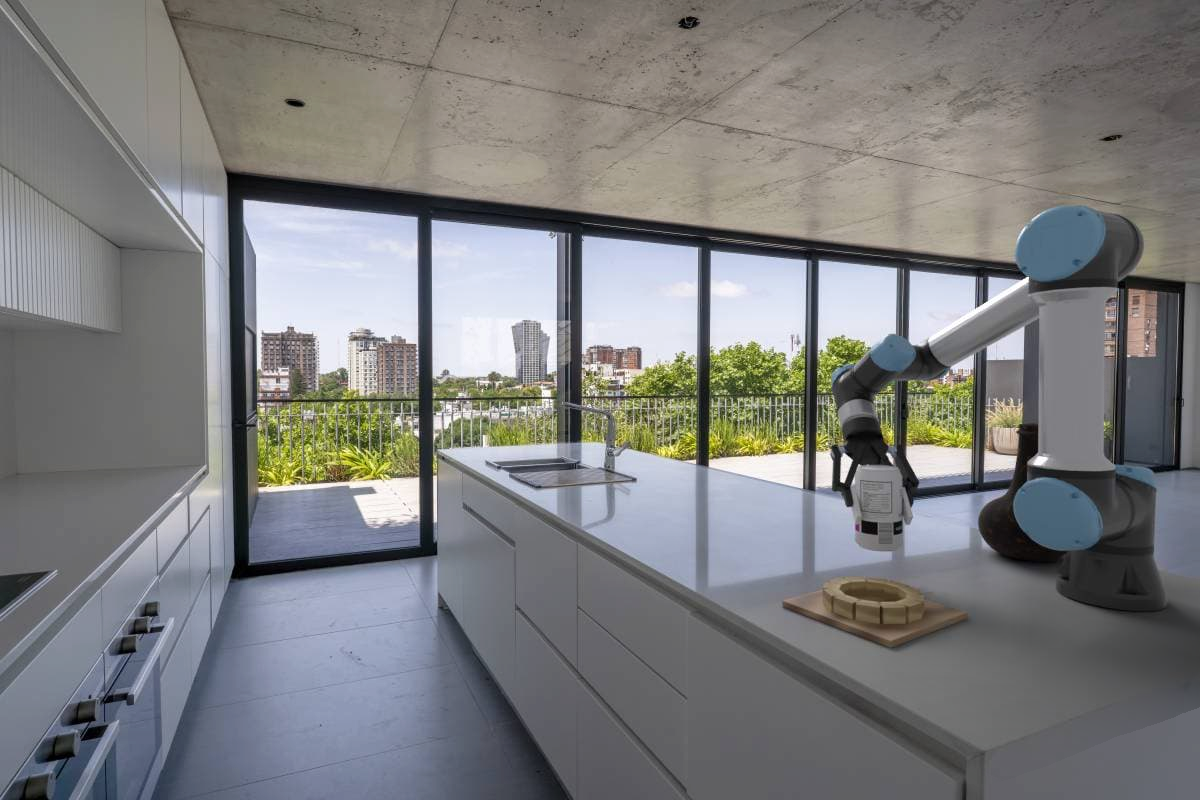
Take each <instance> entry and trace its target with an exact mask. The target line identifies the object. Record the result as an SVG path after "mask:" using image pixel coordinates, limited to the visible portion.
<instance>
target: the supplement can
mask: <svg viewBox="0 0 1200 800" xmlns="http://www.w3.org/2000/svg"><path fill="white" fill-rule="evenodd" d="M854 487H855V488H856V493H857V497H858V502H859V506H860V511H861V515H862V517H861V520H860V523H859V524H855V523H854V537H855V539H854V542H855V543H856V544H857V545H858V546H859V547H860V548H861V549H863V550H868V551H872V552H873V551H874V552H894V551H895V552H896V551H897V550H900V548H902V546H903V545H904V543H903V542H904V537H903V536H904V535H903V527H904V526H903V522H904V521H903V520H904V518H903V499H902V474H901V472H900V470H899V468H898V467H897V466H886V465H863V466H860V465H858V468H857V471H856V473H855V476H854Z"/></svg>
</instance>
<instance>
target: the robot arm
mask: <svg viewBox="0 0 1200 800" xmlns="http://www.w3.org/2000/svg"><path fill="white" fill-rule="evenodd" d="M1144 240H1145V239H1144V236H1143V234H1142V231H1141V230H1140V229H1139V226H1137V225H1136V223H1135V222H1134V221H1132V220H1131V219H1129V218H1127V217H1125V216H1124V215H1121V214H1116V213H1112V212H1107V211H1106V212H1105V211H1101V210H1096V209H1094V208H1091V207H1089V206H1086V205H1060V206H1059V205H1058V206H1054V207H1052V208H1049V209H1047V210H1044V211H1042V212H1041V213H1039V214H1038V215H1036V216H1035V217H1033V218H1032V219H1031V220H1030V221H1029V222H1028V224H1027V225H1025V226H1024V227H1023V228H1022V230H1021V232H1020V233H1019V235H1018V238H1017V239H1016V243H1015V248H1014V259H1015V262H1016V265H1017V267H1018V269H1019V271H1021V272H1022V273H1023V275H1025V276H1026V277H1025V278H1024V279H1022V280H1020V281H1019V282H1017V283H1015V284H1014V285H1013V286H1011V287H1009V288H1008V289H1006V290H1004V291H1002V292H1001V293H999V294H998V295H996V296H995V297H992V298H991V299H989V300H988V301H986V302H985V303H983V304H981V305H979V306H978V307H976V308H974V309H973V310H971V311H970V312H968V313H967V314H965V315H963V316H962V317H960V318H959V319H957V320H954V322H951V323H950V324H949V325H948V326H946V327H944V328H942V329H941V330H939V331H937V332H936V333H934V334H933V335H931V336H929V337H928V338H926V339H924V340H923V341H921V342H920V343H918V344H912V343H911V342H910V341H909V340H908V339H907V338H905V337H904V336H900V335H899V334H897V333H888V334H886V335H884V336H883V337H882V338H881V339H879V341H877V342H875V343H874V344H873V345H872V346H871V348H870V349H868V351H867V352H866V353H865V354H864V355H863V356H862V357H861V358H859V360H858V361H857V362H856V363H855V364H854V363H849V364H844V365H843V366H841V367H837V368H836V369H834V371H833V373H832V375H831V377H830V383H831V384H830V385H831V393H832V395H833V400H834V404H835V407H836V411H837V416H838V420H839V425H840V429H841V434H842V439H843V445H844V446H838V445H837V444H833V445H831V448H830V453H829V455H830V458H831V460H832V477H831V478H832V479H831V490H832V492H835V493H837V492H839V493H841V496H842V497H843V500H844V505H845V506H846V507H847V508H851V512H852V516H853V517H852V518H853V522H854V525H855V524H859V523H860V520H861V517H862V515H861V511H860V506H859V502H858V497H857V493H856V488H855V486H853V487H852V485H853V482H854V480H855V473H856V471H857V470H858V467H859V466H863V465H886V466H894V464H893V463H892V462H891V461H890V459H889V457H888V455H887V454H890V456H891V458H892V459H894V463H895V465H896V467H898V468H899V471H900V473H901V475H902V499H903V520H904V521H903V522H904V523H905V524H904V525H905V526H910V525H911V523H912V520H913V518H914V514H913V511H912V507H913V505H914V502H915V499H914V497H913V494H912V493H916V491H917V490H918V487H919V485H920V481H919V479H918V477H917V475H916V474H915V471H914V470H913V468H912V465H911V464H910V463H909V461H908V459H907V457H906V455H905V453H904V452H905V449H904V445H903V444H899V443H898V444H897V445H896V446H889V444H888V443H887V442H886V441H885V439H884V434H883V430H882V428H881V424H880V420H879V416H878V413H877V410H876V406H875V402H874V398H875V397H876V395H878V394H879V393H880V392H882V390H883V389H885V388H886V387H887V386H888V385H889V384H890V383H892V382H905V381H908V382H910V381H923V382H924V381H925V382H929V381H934V380H940V379H942V378H944V377H945V376H947V374H948V373H949V372H950V370H952V369H951V368H952V367H953V366H954V365H957V364H959V363H960V362H962V361H965V360H966V359H967V358H969V357H971V356H973V355H975V354H977V353H978V352H981V351H982V350H984V349H986V348H987V347H989V346H992V345H993V344H995V343H996V342H997V343H998V341H1001V340H1002V339H1005V338H1006V337H1008V336H1010V335H1011V334H1013V333H1014V332H1017V331H1018V330H1020V329H1022V328H1023V327H1026V326H1027V325H1029V324H1031V323H1034V322H1035V321H1037V320H1038V319H1039V323H1038V324H1039V325H1038V326H1039V329H1038V331H1039V333H1038V334H1039V335H1038V338H1039V339H1038V424H1039V430H1038V453H1037V454H1036V455H1035V456H1034V457H1033V458H1031V459H1030V460H1029V461H1028V463H1027V482H1026V483H1025V484H1024V485H1023V486H1022V487H1021V488H1020V489H1019V490H1018V492H1017V493H1016V495H1015V498H1014V504H1013V508H1014V514H1015V517H1016V520H1017V522H1018V524H1019V526H1020V527H1021V529H1022V530H1023V531H1024V532H1025V533H1026V534H1027V535H1028V536H1029V537H1030V538H1031V539H1032V540H1033V541H1035V542H1036V543H1038V544H1040V545H1042V546H1044V547H1047V548H1050V549H1053V550H1059V551H1067V552H1066V554H1065V555H1064V556H1063V559H1062V562H1061V564H1060V566H1059V569H1058V571H1057V573H1056V575H1055V576H1056V577H1055V589H1056V591H1057V593H1060V594H1061V595H1062V596H1065V597H1067V598H1070V599H1072V600H1074V601H1078V602H1081V603H1084V604H1088V605H1092V606H1098V607H1101V608H1107V609H1114V610H1119V611H1121V610H1122V611H1130V612H1132V611H1133V612H1153V611H1161V610H1163V609H1165V608H1166V607H1167V604H1168V603H1167V598H1168V593H1167V589H1166V586H1165V584H1164V581H1163V579H1162V576H1161V574H1160V570H1159V568H1158V565H1157V563H1156V560H1155V534H1156V533H1155V532H1156V501H1157V499H1156V498H1157V492H1158V487H1157V485H1156V482H1157V481H1156V475H1155V472H1154V471H1153V470H1152V469H1150V468H1148V467H1142V466H1133V465H1123V464H1113V462H1111V460H1109V459H1108V458H1107V457H1106V456H1105V453H1104V445H1105V444H1104V443H1105V442H1104V441H1105V437H1104V436H1105V433H1104V432H1105V367H1106V366H1105V360H1106V359H1105V358H1106V357H1105V352H1106V349H1105V348H1106V347H1105V346H1106V345H1105V344H1106V341H1105V340H1106V339H1105V338H1106V329H1105V328H1106V303H1107V301H1108V300H1109V299H1110V298H1111V297H1112V296H1114V295H1115V294H1116V293H1117V292H1118V290H1119V289H1118V288H1119V287H1118V286H1119V282H1120V281H1122V280H1123V279H1125V278H1126V277H1128V275H1130V274H1131V273H1132V272H1133V271H1134V269H1135V268H1137V266H1138V265H1139V263H1140V261H1141V259H1142V258H1143V257H1142V256H1143V254H1144V250H1145V242H1144ZM844 454H845V455H846V457H848V458H850V459H851V460H852V461H851V464H850V466H849V469H848V471H847V475H846V477H845V479H844V482H842V481H841V473H842V471H841V470H842V457H843V455H844ZM894 467H895V466H894Z"/></svg>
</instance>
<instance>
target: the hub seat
mask: <svg viewBox="0 0 1200 800" xmlns="http://www.w3.org/2000/svg"><path fill="white" fill-rule="evenodd" d="M781 602H782V603H781V604H782V605H781V606H782V607H783V608H785V609H788V610H791V611H793V612H796V613H798V614H801V615H804V616H807V617H808V618H812V619H814V620H817V621H819V622H821V623H824V624H827V625H829V626H833V627H835V628H838V629H840V630H843V631H846V632H847V633H850V634H854V635H856V636H858V637H861V638H864V639H866V640H869V641H872V642H873V643H876V644H877V643H878V644H880V645H882V646H885V647H887V648H890V649H891V648H894V647H896V646H900V645H901V644H904V643H907V642H909V641H912V640H915V639H917V638H921V637H922V636H925V635H929V634H930V633H933V632H936V631H938V630H941V629H943V628H946V627H949V626H952V625H954V624H957V623H959V622H961V621H964V619H965V620H967V619H968V611H965V610H961V609H957V608H954V607H951V606H948V605H945V604H941V603H939V602H934V601H931V600H928V599H925V594H924V593H923V592H922V591H920V590H918V589H916V588H915V587H913V586H910V585H909V584H905V583H902V582H898V581H895V580H892V579H891V580H888V579H885V578H877V577H871V576H865V577H864V576H844V577H837V578H834V579H833V578H832V579H830V580H828V581H826V582H824V584H823V587H822V589H819V590H816V591H813V592H808V593H805V594H802V595H798V596H795V597H791V598H787V599H784V600H782V601H781ZM951 624H952V625H951Z"/></svg>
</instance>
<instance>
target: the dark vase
mask: <svg viewBox="0 0 1200 800" xmlns="http://www.w3.org/2000/svg"><path fill="white" fill-rule="evenodd" d="M1038 430H1039V423H1034V422H1033V423H1019V424H1018V430H1016V432H1015V433H1016V434H1017V435H1018V440H1017V442H1018V444H1017V451H1016V459H1015V465H1014V471H1013V475H1012V480H1011V483H1010V485H1009V488H1008V490H1007V491H1006V493H1005V494H1004V495H1002V496H1000V497H998V498H995V499H992V500H991V501H989V502H987V503H986V504H985V505H984V506H983V508H981V510H980V513H979V515H978V520H977V525H978V530H979V533H980V535H981V537H982V539H983V540H984V541H985V543H986V544H987V545H988V547H990V548H991V549H992V551H993V550H994V551H995V552H996V553H998V554H1000V555H1003V556H1005V557H1008V558H1013V559H1016V560H1021V561H1029V562H1030V561H1031V562H1044V563H1045V562H1052V561H1056V560H1058V559H1061V558H1064V557H1065V554H1066V552H1067V551H1059V550H1053V549H1050V548H1047V547H1044V546H1042V545H1040V544H1038V543H1036V542H1035V541H1033V540H1032V539H1031V538H1030V537H1029V536H1028V535H1027V534H1026V533H1025V532H1024V531H1023V530H1022V529H1021V527H1020V526H1019V524H1018V522H1017V520H1016V517H1015V514H1014V508H1013V504H1014V498H1015V495H1016V493H1017V492H1018V490H1019V489H1020V488H1021V487H1022V486H1023V485H1024V484H1025V483H1026V482H1027V463H1028V461H1029V460H1030V459H1031V458H1033V457H1034V456H1035V455H1036V454H1037V453H1038Z"/></svg>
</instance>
